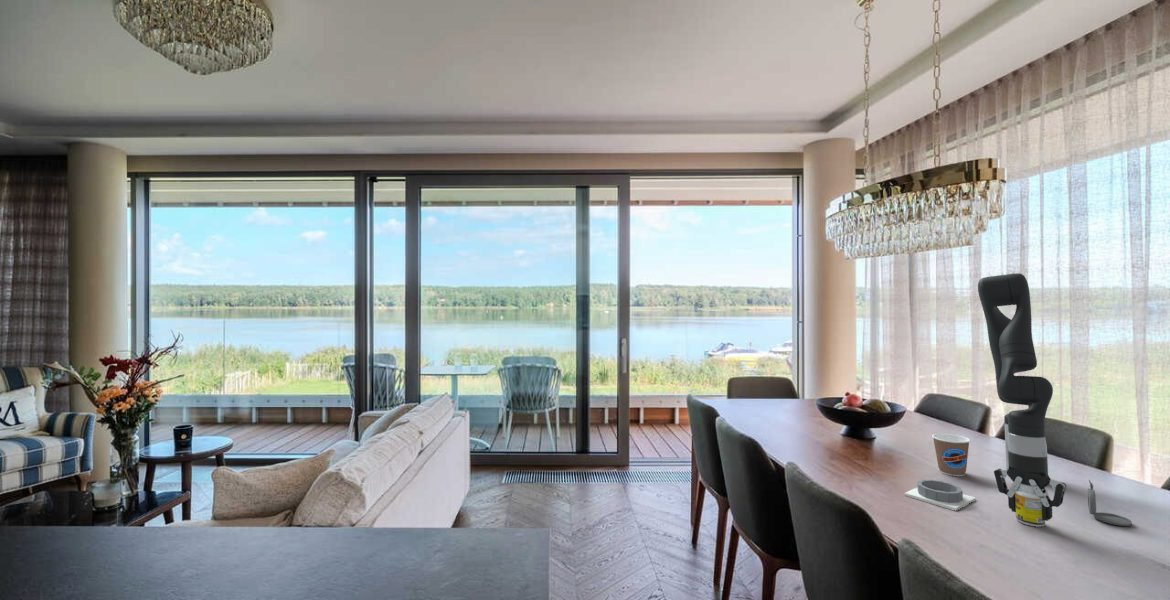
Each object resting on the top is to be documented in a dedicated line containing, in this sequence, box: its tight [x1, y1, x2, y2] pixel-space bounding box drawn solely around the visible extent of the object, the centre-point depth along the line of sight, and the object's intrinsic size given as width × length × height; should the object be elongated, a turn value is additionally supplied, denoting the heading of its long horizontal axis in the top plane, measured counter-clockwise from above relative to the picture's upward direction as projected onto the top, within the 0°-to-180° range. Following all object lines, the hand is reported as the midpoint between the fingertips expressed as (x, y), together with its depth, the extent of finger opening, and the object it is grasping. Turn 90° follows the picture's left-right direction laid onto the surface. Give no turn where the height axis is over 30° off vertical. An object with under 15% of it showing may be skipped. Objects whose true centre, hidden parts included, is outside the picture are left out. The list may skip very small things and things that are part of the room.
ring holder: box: [904, 479, 977, 512], centre depth 138 cm, size 13×13×4 cm
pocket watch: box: [1087, 479, 1133, 527], centre depth 122 cm, size 8×8×10 cm
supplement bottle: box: [1015, 484, 1046, 528], centre depth 121 cm, size 6×6×10 cm
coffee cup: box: [931, 433, 971, 477], centre depth 158 cm, size 10×10×12 cm
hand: (1029, 515), depth 121 cm, fingers closed on supplement bottle, 5 cm apart
